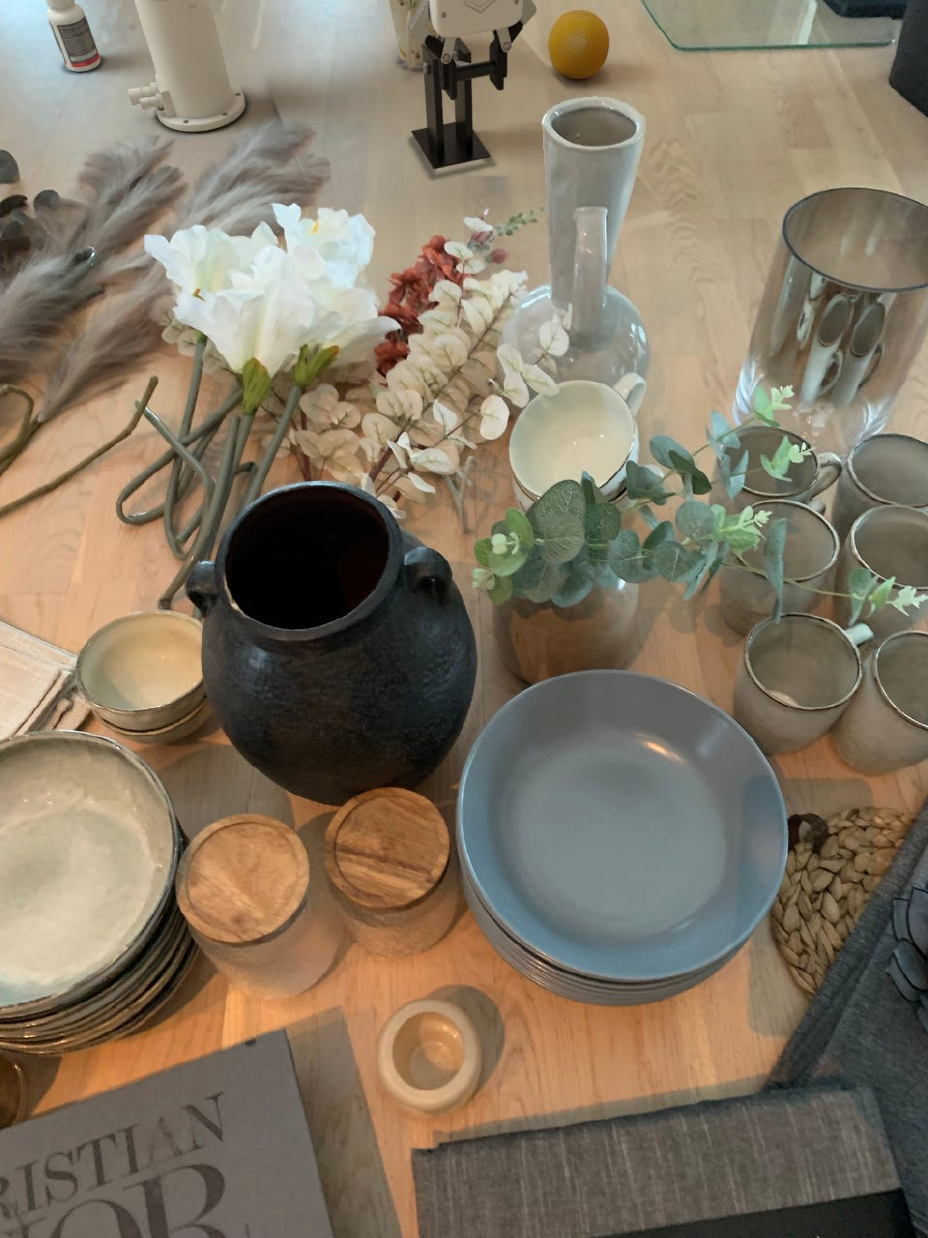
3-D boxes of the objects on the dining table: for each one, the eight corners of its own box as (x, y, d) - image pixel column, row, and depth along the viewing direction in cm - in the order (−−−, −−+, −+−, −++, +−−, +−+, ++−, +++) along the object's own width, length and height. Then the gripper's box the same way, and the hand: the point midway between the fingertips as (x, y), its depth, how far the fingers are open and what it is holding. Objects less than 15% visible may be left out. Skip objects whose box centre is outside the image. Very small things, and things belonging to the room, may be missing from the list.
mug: (450, 48, 133) (448, -28, 124) (441, 89, 126) (438, 11, 118) (397, 47, 133) (391, -29, 125) (385, 87, 127) (378, 10, 118)
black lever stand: (490, 164, 115) (490, 60, 104) (434, 176, 113) (427, 72, 103) (466, 127, 120) (463, 24, 109) (411, 139, 119) (403, 36, 108)
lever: (497, 79, 100) (495, 54, 98) (456, 87, 99) (454, 62, 97) (463, 70, 110) (461, 48, 108) (426, 77, 109) (423, 55, 107)
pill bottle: (108, 59, 134) (83, -14, 126) (87, 75, 131) (60, 1, 123) (80, 53, 135) (53, -19, 127) (59, 69, 132) (30, -4, 124)
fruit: (595, 57, 130) (600, -4, 123) (613, 82, 126) (620, 21, 119) (539, 66, 129) (542, 5, 122) (556, 92, 125) (560, 30, 118)
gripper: (399, -76, 82) (413, 119, 98) (564, -104, 85) (553, 91, 100) (378, -104, 86) (395, 88, 102) (536, -129, 89) (529, 61, 104)
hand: (473, 87), depth 101 cm, fingers closed on lever, 5 cm apart
